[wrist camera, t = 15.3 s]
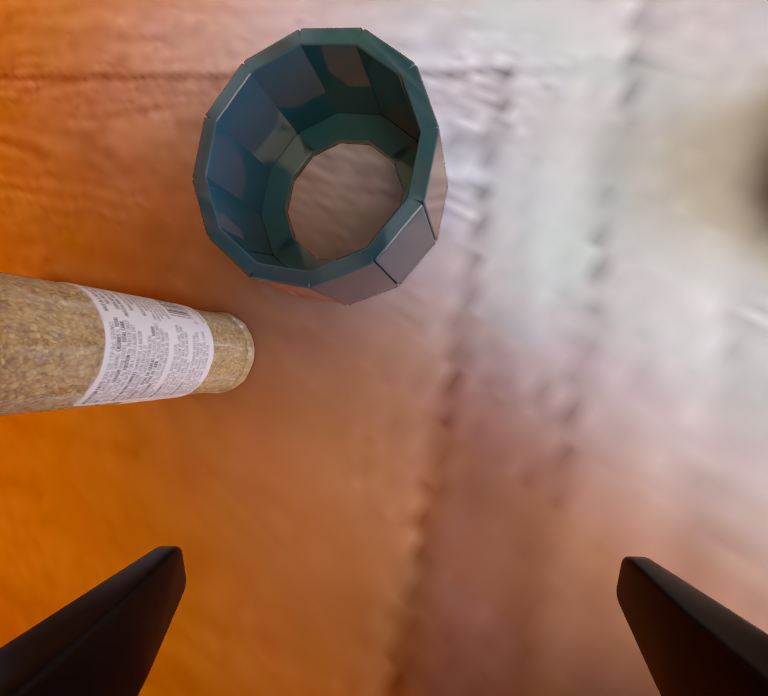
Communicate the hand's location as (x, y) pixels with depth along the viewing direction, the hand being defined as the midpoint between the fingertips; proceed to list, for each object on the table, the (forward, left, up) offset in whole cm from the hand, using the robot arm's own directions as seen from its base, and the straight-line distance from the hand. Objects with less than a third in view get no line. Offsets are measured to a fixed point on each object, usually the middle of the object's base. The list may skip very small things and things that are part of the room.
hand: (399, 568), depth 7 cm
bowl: (+11, +7, -10) cm, 17 cm away
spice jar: (+2, +13, -10) cm, 17 cm away
